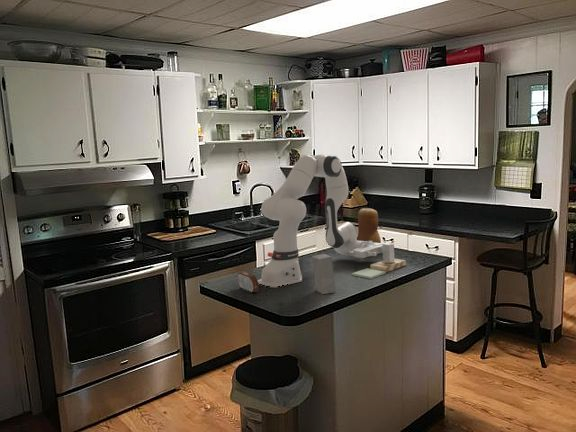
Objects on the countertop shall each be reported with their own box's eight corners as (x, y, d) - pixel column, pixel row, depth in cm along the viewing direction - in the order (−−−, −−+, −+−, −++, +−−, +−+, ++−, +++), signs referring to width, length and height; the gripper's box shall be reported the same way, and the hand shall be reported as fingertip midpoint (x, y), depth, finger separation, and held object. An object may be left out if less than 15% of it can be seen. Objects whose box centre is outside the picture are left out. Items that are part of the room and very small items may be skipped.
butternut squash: (385, 250, 282) (384, 207, 278) (373, 255, 272) (371, 210, 268) (364, 248, 291) (363, 206, 287) (352, 253, 281) (350, 209, 277)
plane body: (385, 272, 237) (385, 267, 236) (370, 269, 243) (370, 264, 243) (405, 265, 248) (405, 260, 248) (390, 262, 255) (390, 257, 254)
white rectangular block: (389, 268, 243) (389, 244, 241) (383, 267, 246) (382, 244, 244) (394, 267, 246) (393, 243, 244) (387, 265, 249) (387, 242, 247)
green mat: (370, 278, 228) (370, 276, 228) (352, 275, 236) (352, 273, 236) (385, 273, 235) (385, 271, 235) (366, 270, 243) (366, 268, 243)
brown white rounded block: (259, 294, 215) (258, 275, 214) (253, 295, 214) (252, 276, 212) (243, 286, 228) (241, 269, 227) (237, 288, 226) (235, 270, 225)
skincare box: (335, 292, 210) (334, 256, 208) (320, 295, 208) (318, 258, 206) (328, 287, 218) (326, 252, 216) (313, 289, 217) (311, 254, 214)
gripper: (347, 247, 251) (368, 250, 241) (372, 239, 264) (393, 242, 254) (347, 259, 252) (369, 262, 242) (372, 251, 265) (393, 254, 255)
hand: (382, 252), depth 248 cm, fingers open, 8 cm apart
